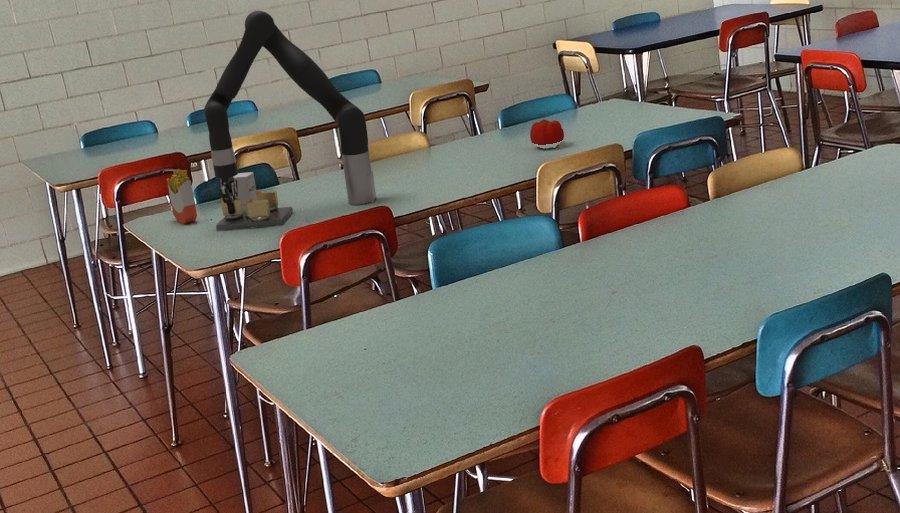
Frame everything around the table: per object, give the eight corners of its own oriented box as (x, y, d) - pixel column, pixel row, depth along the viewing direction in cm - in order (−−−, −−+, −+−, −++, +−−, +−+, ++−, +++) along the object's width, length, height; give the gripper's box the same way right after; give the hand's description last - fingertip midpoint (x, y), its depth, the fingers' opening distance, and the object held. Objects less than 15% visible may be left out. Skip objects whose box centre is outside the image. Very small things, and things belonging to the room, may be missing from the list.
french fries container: (186, 225, 355) (176, 173, 349) (173, 220, 363) (163, 170, 358) (198, 222, 357) (188, 170, 352) (185, 217, 366) (175, 167, 360)
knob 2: (280, 206, 356) (277, 187, 354) (276, 210, 350) (273, 191, 348) (262, 208, 357) (258, 188, 355) (257, 212, 351) (254, 193, 349)
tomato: (566, 149, 403) (564, 122, 400) (532, 152, 404) (530, 126, 401) (563, 142, 416) (561, 116, 413) (530, 146, 417) (527, 120, 414)
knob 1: (245, 213, 351) (242, 194, 349) (241, 218, 346) (237, 198, 344) (227, 215, 352) (223, 196, 350) (222, 220, 346) (218, 200, 344)
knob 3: (272, 215, 344) (268, 195, 343) (267, 220, 339) (264, 200, 337) (253, 217, 345) (249, 197, 343) (248, 222, 339) (244, 202, 337)
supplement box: (252, 212, 362) (246, 176, 359) (232, 213, 364) (226, 178, 360) (259, 206, 369) (253, 171, 366) (240, 207, 371) (234, 173, 367)
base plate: (292, 212, 355) (291, 200, 354) (282, 225, 340) (280, 213, 339) (230, 218, 357) (228, 206, 356) (216, 231, 342) (214, 219, 341)
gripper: (229, 165, 336) (238, 217, 341) (240, 156, 350) (249, 206, 355) (207, 167, 337) (216, 219, 342) (219, 158, 350) (228, 208, 355)
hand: (233, 212), depth 348 cm, fingers closed on knob 1, 2 cm apart
